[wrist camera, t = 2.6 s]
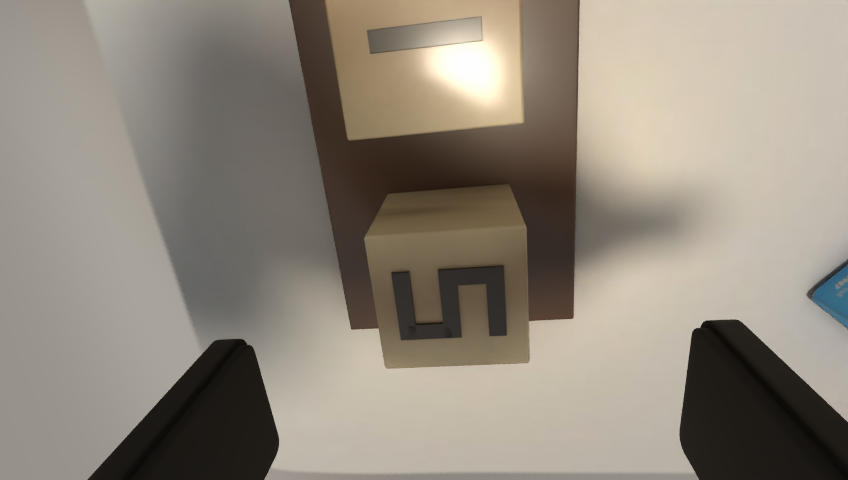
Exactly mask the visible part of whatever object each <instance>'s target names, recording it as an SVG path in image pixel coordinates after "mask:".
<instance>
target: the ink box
mask: <svg viewBox="0 0 848 480" xmlns="http://www.w3.org/2000/svg"><path fill="white" fill-rule="evenodd" d="M812 300H813V301H814V302H815V303H816V304H817V305H819V306H820V307H821V308H823V309H824V310H825V311H827V312H828V313H829V314H830V315H832V316H833V317H834V318H836V319H837V320H838V321H839V322H841V323H842V324H843V325H844V326H846V327H847V328H848V265H847V266H845V267H844V268H843V269H841V270H840V271H839V272H838V273H836V274H835V275H834V276H833V277H831V278H830V279H829V280H827V281H826V282H825V283H824V284H822V285H821V286H820V287H819V288H818V289H817V290H816V291H815V292H814V294H813V296H812Z"/></svg>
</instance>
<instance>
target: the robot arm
mask: <svg viewBox="0 0 848 480" xmlns="http://www.w3.org/2000/svg"><path fill="white" fill-rule="evenodd" d="M680 442H681V446H682V449H683V451H684V453H685V455H686V457H687V458H688V460H689V462H690V464H691V466H692V467H693V469H694V471H695V473H696V475H697V476H698V478H699V480H848V422H847V421H846V420H845V419H844V418H843V417H842V416H841V415H840V414H839V413H837V412H836V411H835V410H834V409H833V408H832V407H831V406H830V405H829V404H828V403H827V402H826V401H825V400H824V399H823V398H822V397H821V396H819V395H818V394H817V393H816V392H815V391H814V390H813V389H812V388H811V387H810V386H809V385H808V384H807V383H806V382H805V381H804V380H802V379H801V378H800V377H799V376H798V375H797V374H796V373H795V372H794V371H793V370H792V369H791V368H790V367H789V366H788V365H787V364H786V363H784V362H783V361H782V360H781V359H780V358H779V357H778V356H777V355H776V354H775V353H774V352H773V351H772V350H771V349H770V348H769V347H768V346H766V345H765V344H764V343H763V342H762V341H761V340H760V339H759V338H758V337H757V336H756V335H755V334H754V333H753V332H752V331H751V330H750V329H748V328H747V327H746V326H745V325H744V324H743V323H742V322H740V321H739V320H711V321H705V322H703V323H702V325H701V328H696V329H694V331H693V333H692V338H691V346H690V354H689V361H688V369H687V377H686V385H685V393H684V401H683V409H682V416H681V424H680ZM278 448H279V437H278V433H277V429H276V425H275V422H274V418H273V415H272V411H271V408H270V404H269V401H268V397H267V393H266V390H265V386H264V383H263V379H262V376H261V372H260V369H259V365H258V361H257V358H256V354H255V351H254V349H253V347H252V346H251V345H247V343H246V342H245V341H244V340H243V339H225V340H216V341H214V342H213V343H212V344H211V345H210V346H209V347H208V348H207V349H206V351H205V352H204V353H203V354H202V355H201V356H200V357H199V358H198V359H197V360H196V361H195V363H194V364H193V365H192V366H191V367H190V368H189V369H188V370H187V371H186V373H185V374H184V375H183V376H182V377H181V378H180V379H179V380H178V381H177V382H176V383H175V384H174V386H173V387H172V388H171V389H170V390H169V391H168V392H167V393H166V394H165V395H164V397H163V398H162V399H161V400H160V401H159V402H158V403H157V404H156V405H155V406H154V408H153V409H152V410H151V411H150V412H149V413H148V414H147V415H146V416H145V417H144V418H143V420H142V421H141V422H140V423H139V424H138V425H137V426H136V427H135V428H134V429H133V431H132V432H131V433H130V434H129V435H128V436H127V437H126V438H125V439H124V440H123V441H122V443H121V444H120V445H119V446H118V447H117V448H116V449H115V450H114V451H113V452H112V454H111V455H110V456H109V457H108V458H107V459H106V460H105V461H104V462H103V463H102V464H101V466H100V467H99V468H98V469H97V470H96V471H95V472H94V473H93V474H92V476H91V477H90V478H89V479H88V480H264V479H265V477H266V475H267V473H268V471H269V469H270V467H271V465H272V463H273V461H274V459H275V457H276V454H277V452H278Z"/></svg>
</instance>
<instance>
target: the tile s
mask: <svg viewBox="0 0 848 480" xmlns="http://www.w3.org/2000/svg"><path fill="white" fill-rule="evenodd" d="M364 241H365V247H366V253H367V259H368V266H369V272H370V278H371V284H372V290H373V296H374V302H375V308H376V315H377V321H378V327H379V333H380V339H381V345H382V351H383V357H384V364H385V367H386V368H413V367H439V366H464V365H490V364H515V363H528V362H529V360H530V356H529V311H528V267H527V227H526V225H525V222H524V220H523V217H522V215H521V212H520V210H519V207H518V205H517V202H516V200H515V197H514V195H513V192H512V190H511V187H510V185H509V184H502V185H490V186H477V187H465V188H453V189H440V190H428V191H416V192H404V193H391V194H388V195H387V197H386V199H385V200H384V202H383V204H382V206H381V208H380V210H379V211H378V213H377V215H376V217H375V219H374V221H373V223H372V224H371V226H370V228H369V230H368V232H367V234H366V235H365V238H364Z"/></svg>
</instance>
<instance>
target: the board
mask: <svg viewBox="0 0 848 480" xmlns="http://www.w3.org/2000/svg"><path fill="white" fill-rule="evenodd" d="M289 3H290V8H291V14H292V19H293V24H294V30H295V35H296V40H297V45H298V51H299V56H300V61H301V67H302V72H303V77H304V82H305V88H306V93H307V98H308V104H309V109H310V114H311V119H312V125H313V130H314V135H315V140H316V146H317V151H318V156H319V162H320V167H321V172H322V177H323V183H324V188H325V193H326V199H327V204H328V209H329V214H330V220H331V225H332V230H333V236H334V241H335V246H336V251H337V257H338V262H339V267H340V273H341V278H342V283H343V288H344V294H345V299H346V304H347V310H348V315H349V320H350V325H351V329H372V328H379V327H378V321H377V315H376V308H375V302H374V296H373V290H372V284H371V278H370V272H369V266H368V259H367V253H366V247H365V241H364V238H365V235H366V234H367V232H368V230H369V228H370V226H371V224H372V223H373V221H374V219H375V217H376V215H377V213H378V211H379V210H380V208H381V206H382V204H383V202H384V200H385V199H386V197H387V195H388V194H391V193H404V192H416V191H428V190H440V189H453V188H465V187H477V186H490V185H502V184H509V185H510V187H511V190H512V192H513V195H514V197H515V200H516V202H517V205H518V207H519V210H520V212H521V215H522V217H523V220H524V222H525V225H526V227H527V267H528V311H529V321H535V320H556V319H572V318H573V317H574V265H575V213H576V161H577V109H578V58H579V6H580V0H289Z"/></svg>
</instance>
